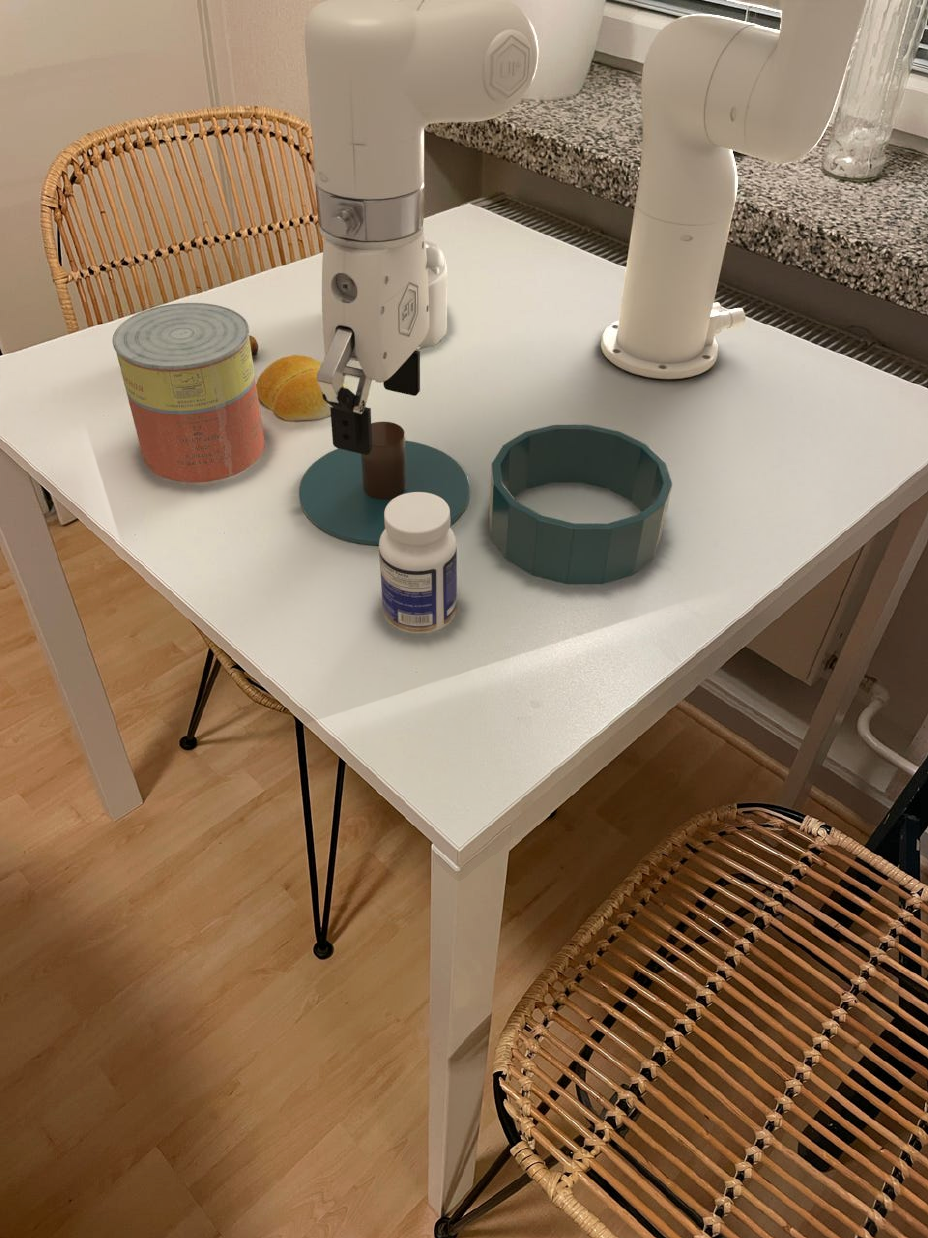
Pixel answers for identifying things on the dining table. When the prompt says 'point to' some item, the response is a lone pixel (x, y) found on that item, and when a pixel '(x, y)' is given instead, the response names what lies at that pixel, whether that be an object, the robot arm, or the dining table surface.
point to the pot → (567, 545)
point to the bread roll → (293, 389)
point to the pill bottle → (418, 563)
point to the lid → (377, 484)
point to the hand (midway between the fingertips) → (378, 419)
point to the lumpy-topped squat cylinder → (436, 295)
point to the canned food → (191, 390)
